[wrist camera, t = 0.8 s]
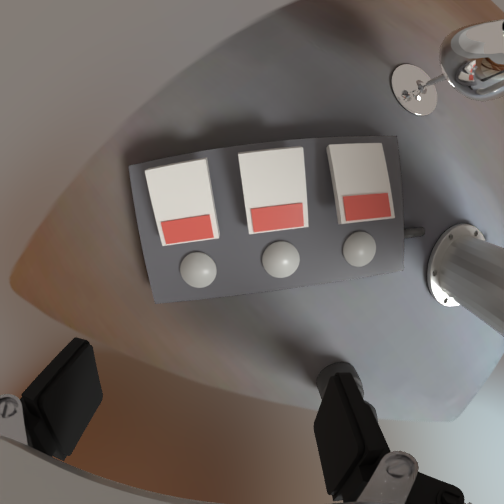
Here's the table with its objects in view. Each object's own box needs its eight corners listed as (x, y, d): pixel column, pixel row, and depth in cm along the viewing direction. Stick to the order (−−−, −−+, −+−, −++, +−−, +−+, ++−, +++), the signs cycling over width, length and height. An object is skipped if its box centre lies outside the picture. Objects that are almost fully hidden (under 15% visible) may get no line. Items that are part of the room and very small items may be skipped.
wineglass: (407, 124, 30) (525, 98, 11) (379, 70, 29) (477, 6, 9) (445, 108, 30) (553, 86, 10) (419, 59, 28) (515, 9, 8)
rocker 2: (300, 146, 26) (303, 147, 25) (306, 222, 30) (308, 227, 29) (238, 152, 27) (238, 154, 25) (248, 229, 30) (249, 234, 29)
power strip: (415, 139, 31) (428, 137, 28) (420, 258, 35) (433, 265, 32) (138, 166, 32) (127, 165, 28) (161, 294, 35) (154, 304, 32)
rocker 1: (206, 157, 27) (205, 159, 25) (219, 233, 30) (219, 238, 29) (148, 168, 27) (144, 171, 26) (164, 241, 30) (162, 246, 29)
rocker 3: (377, 146, 28) (382, 142, 27) (390, 218, 28) (395, 217, 27) (326, 148, 28) (329, 144, 27) (338, 224, 28) (342, 223, 27)
